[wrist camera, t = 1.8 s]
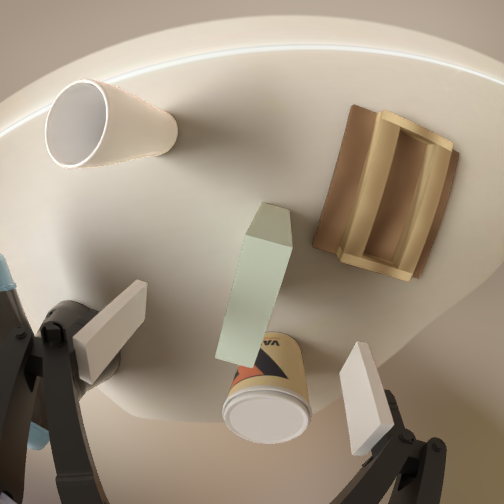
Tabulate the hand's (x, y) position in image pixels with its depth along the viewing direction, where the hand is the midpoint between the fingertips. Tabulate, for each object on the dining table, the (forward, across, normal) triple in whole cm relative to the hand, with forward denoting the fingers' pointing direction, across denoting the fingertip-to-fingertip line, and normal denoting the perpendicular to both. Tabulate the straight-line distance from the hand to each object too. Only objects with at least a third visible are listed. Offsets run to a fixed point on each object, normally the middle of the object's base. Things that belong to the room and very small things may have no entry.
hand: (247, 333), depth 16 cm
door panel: (+17, 0, 0) cm, 17 cm away
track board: (+17, +12, +10) cm, 23 cm away
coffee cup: (+17, +5, -14) cm, 23 cm away
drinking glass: (+17, -15, +10) cm, 25 cm away
